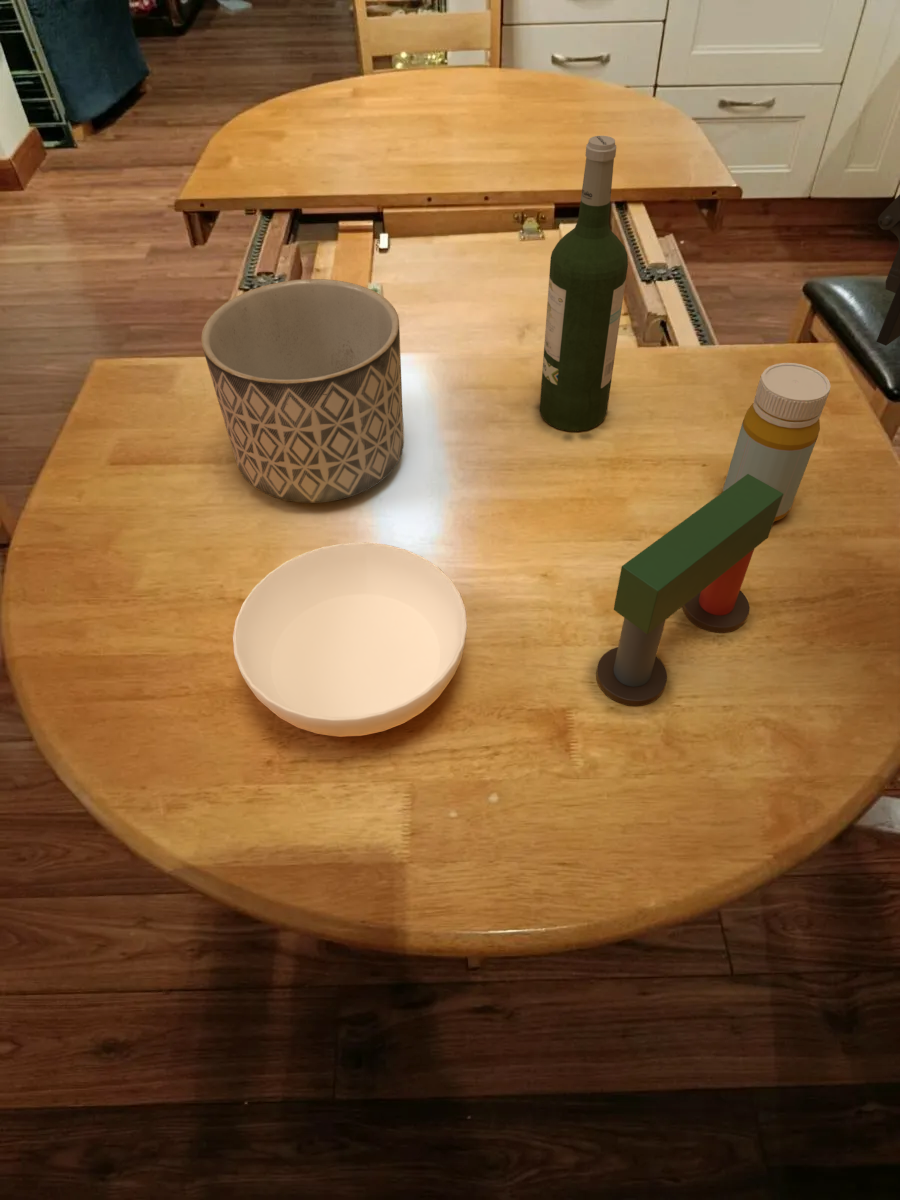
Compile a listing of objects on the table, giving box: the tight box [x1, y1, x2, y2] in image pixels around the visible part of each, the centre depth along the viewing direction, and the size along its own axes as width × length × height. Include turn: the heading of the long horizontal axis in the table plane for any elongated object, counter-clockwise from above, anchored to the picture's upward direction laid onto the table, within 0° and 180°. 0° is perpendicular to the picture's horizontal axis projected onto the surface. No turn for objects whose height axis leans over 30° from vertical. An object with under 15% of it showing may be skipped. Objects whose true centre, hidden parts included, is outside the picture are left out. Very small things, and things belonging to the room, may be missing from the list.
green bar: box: [613, 474, 783, 634], centre depth 68 cm, size 4×16×5 cm, turn 132°
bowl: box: [232, 541, 468, 738], centre depth 73 cm, size 20×20×6 cm
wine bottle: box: [539, 135, 629, 433], centre depth 89 cm, size 8×8×30 cm
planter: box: [200, 278, 405, 504], centre depth 89 cm, size 19×19×16 cm
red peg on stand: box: [681, 549, 755, 634], centre depth 76 cm, size 6×6×9 cm
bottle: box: [722, 362, 831, 522], centre depth 83 cm, size 7×7×15 cm
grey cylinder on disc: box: [595, 617, 668, 707], centre depth 71 cm, size 6×6×9 cm
